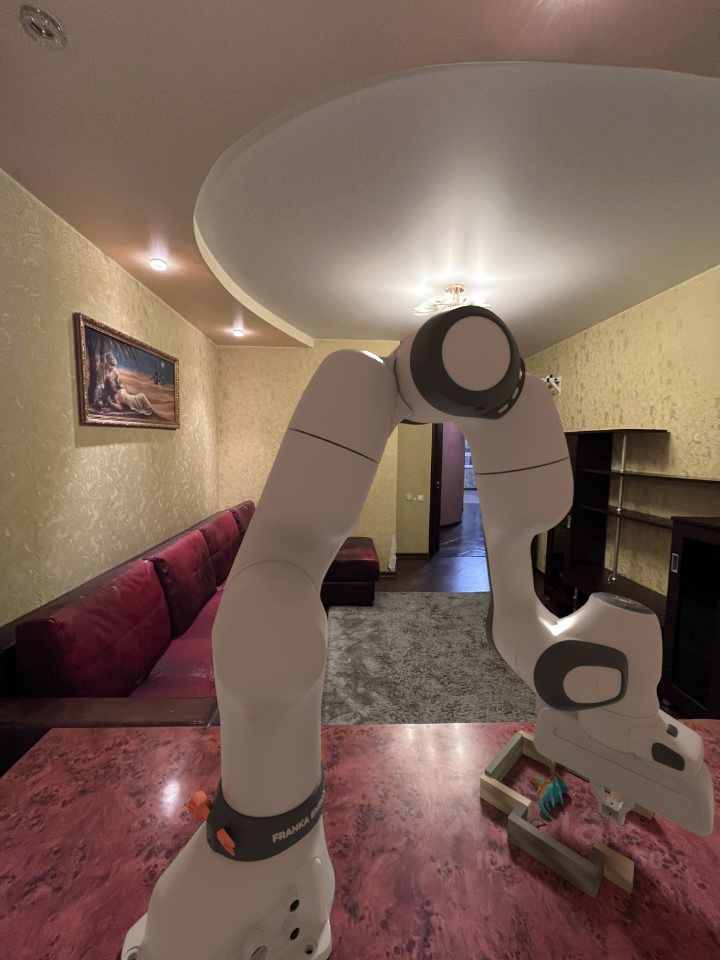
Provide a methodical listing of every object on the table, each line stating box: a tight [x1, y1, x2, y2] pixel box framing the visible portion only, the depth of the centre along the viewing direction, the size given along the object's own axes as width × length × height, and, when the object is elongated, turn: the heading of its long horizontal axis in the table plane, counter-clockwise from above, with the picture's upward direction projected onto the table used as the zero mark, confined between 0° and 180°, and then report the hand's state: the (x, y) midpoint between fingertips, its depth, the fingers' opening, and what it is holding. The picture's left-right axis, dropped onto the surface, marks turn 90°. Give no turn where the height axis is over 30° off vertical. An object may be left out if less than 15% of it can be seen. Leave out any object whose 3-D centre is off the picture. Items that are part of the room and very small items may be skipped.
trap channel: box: [479, 729, 654, 900], centre depth 59 cm, size 19×22×4 cm
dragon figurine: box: [528, 760, 571, 826], centre depth 59 cm, size 6×7×8 cm
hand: (611, 816), depth 54 cm, fingers closed
